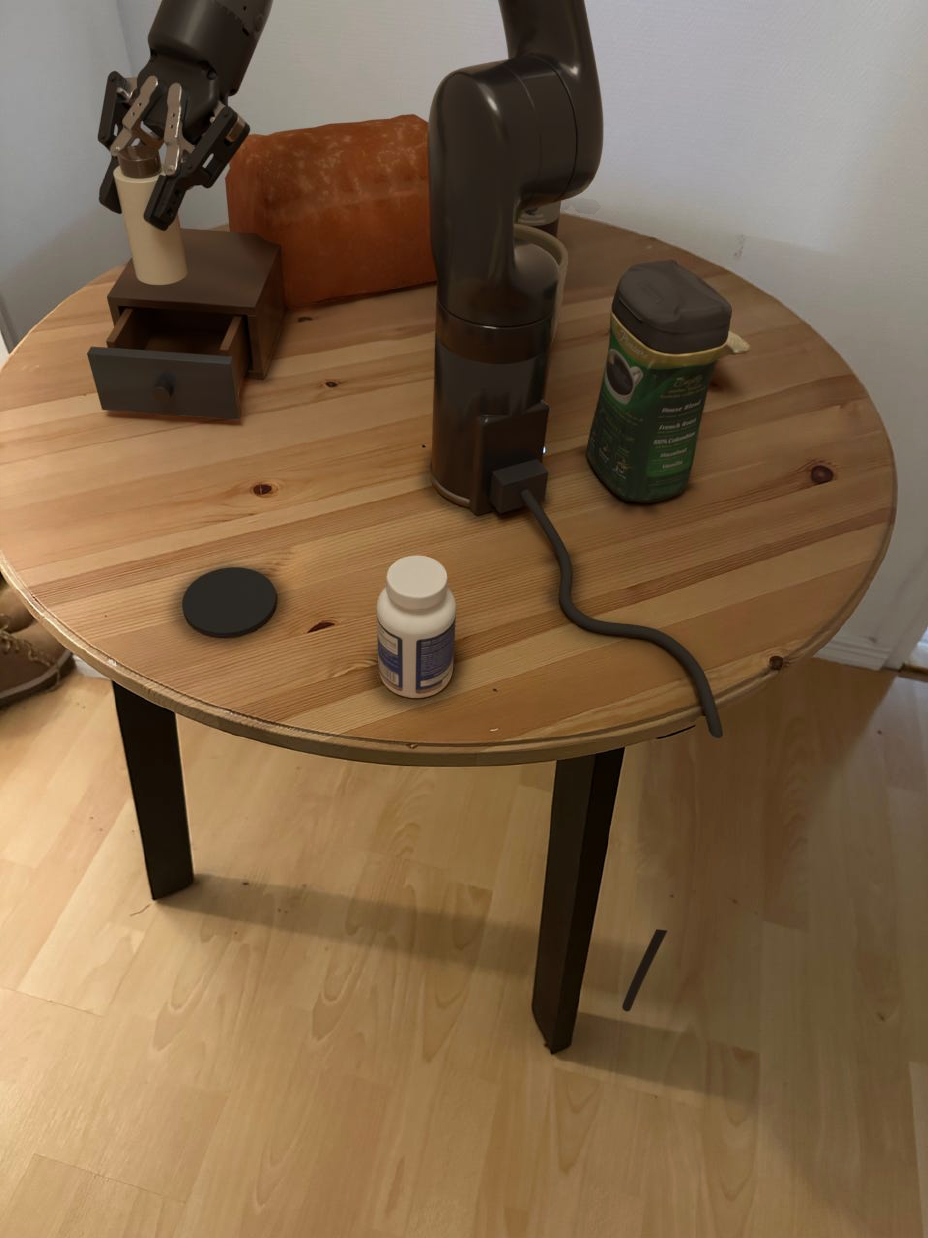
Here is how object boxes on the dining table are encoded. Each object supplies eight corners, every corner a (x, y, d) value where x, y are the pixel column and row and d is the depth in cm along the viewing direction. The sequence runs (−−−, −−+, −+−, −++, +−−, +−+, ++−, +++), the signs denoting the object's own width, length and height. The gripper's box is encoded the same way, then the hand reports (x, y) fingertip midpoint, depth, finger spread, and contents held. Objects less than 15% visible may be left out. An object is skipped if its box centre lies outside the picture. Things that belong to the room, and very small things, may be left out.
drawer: (235, 427, 87) (227, 371, 82) (97, 417, 87) (81, 360, 82) (267, 342, 97) (261, 287, 92) (143, 333, 97) (131, 278, 92)
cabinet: (263, 380, 94) (255, 306, 88) (124, 370, 94) (106, 296, 88) (290, 305, 104) (284, 235, 98) (164, 296, 104) (150, 225, 98)
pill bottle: (456, 648, 71) (462, 551, 64) (448, 704, 67) (453, 609, 60) (384, 640, 71) (382, 543, 64) (372, 696, 67) (369, 600, 60)
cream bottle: (194, 279, 82) (173, 158, 74) (142, 289, 80) (116, 166, 73) (180, 257, 84) (158, 138, 77) (130, 266, 83) (103, 146, 76)
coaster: (289, 620, 72) (289, 615, 71) (198, 649, 69) (197, 644, 69) (259, 562, 76) (258, 556, 76) (172, 587, 74) (170, 582, 73)
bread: (475, 278, 109) (483, 143, 99) (271, 318, 101) (256, 176, 90) (414, 217, 120) (415, 88, 109) (224, 249, 111) (205, 113, 101)
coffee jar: (700, 496, 84) (757, 302, 71) (621, 515, 82) (665, 318, 69) (647, 434, 90) (690, 244, 77) (572, 450, 88) (603, 257, 75)
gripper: (117, -37, 74) (35, 171, 76) (256, -2, 69) (165, 220, 71) (178, 26, 81) (102, 214, 83) (308, 61, 76) (225, 262, 78)
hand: (132, 216), depth 77 cm, fingers closed on cream bottle, 4 cm apart
